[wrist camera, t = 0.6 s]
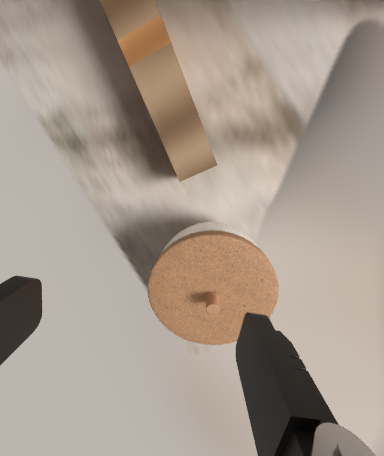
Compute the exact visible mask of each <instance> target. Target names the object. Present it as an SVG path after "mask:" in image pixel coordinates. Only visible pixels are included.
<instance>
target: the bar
mask: <svg viewBox="0 0 384 456" xmlns="http://www.w3.org/2000/svg"><path fill="white" fill-rule="evenodd" d="M100 2H101V5H102V7H103V9H104V12H105V14H106V16H107V18H108V21H109V23H110V25H111V27H112V30H113V32H114V34H115V36H116V39H117V41H118V43H119V46H120V48H121V50H122V52H123V55H124V57H125V59H126V61H127V64H128V66H129V68H130V70H131V73H132V75H133V77H134V79H135V82H136V84H137V86H138V89H139V91H140V93H141V95H142V98H143V100H144V102H145V104H146V107H147V109H148V111H149V113H150V116H151V118H152V120H153V123H154V125H155V127H156V129H157V132H158V134H159V136H160V138H161V141H162V143H163V145H164V147H165V150H166V152H167V154H168V157H169V159H170V161H171V163H172V166H173V168H174V170H175V172H176V175H177V177H178V179H179V181H182V180H185V179H187V178H189V177H191V176H194V175H196V174H198V173H200V172H203V171H205V170H207V169H210V168H212V167H214V166H216V165H217V163H216V161H215V158H214V155H213V153H212V150H211V147H210V145H209V142H208V139H207V137H206V134H205V131H204V129H203V126H202V124H201V121H200V118H199V116H198V113H197V110H196V108H195V105H194V102H193V100H192V97H191V95H190V92H189V89H188V87H187V84H186V81H185V79H184V76H183V73H182V71H181V68H180V66H179V63H178V60H177V58H176V55H175V52H174V50H173V47H172V44H171V42H170V39H169V37H168V34H167V31H166V29H165V26H164V23H163V21H162V18H161V15H160V13H159V10H158V8H157V5H156V2H155V0H100Z"/></svg>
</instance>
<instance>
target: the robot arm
mask: <svg viewBox="0 0 384 456" xmlns="http://www.w3.org/2000/svg"><path fill="white" fill-rule="evenodd" d="M41 286H42V285H41V281H40V280H39V279H35V278H28V277H22V276H14V277H12V278H10V279H8V280H6V281H5V282H3V283H1V284H0V365H1V364H2V363H3V362H4V361H5V360H6V359H7V358H8V357H9V356H10V355H11V354H12V353H13V352H14V351H15V350H16V349H17V348H18V347H19V346H20V345H21V344H22V343H23V342H24V341H25V340H26V339H27V338H28V337H29V336H30V335H31V334H32V333H33V332H34V331H35V329H36V328H37V326H38V325H39V322H40V320H41V317H42V287H41ZM236 362H237V366H238V370H239V375H240V379H241V383H242V388H243V392H244V396H245V401H246V405H247V410H248V414H249V418H250V423H251V427H252V432H253V436H254V440H255V445H256V449H257V453H258V456H376V455H375V454H374V453H373V452H372V451H371V450H370V448H369V447H368V446H367V445H365V443H364V442H363V441H362V440H360V439H359V438H358V437H357V436H356V435H354V434H353V433H352V432H350V431H349V430H347V429H345V428H344V427H341V426H340V425H338V423H337V421H336V420H335V418H334V416H333V414H332V412H331V411H330V409H329V407H328V406H327V404H326V402H325V400H324V399H323V397H322V395H321V393H320V392H319V390H318V388H317V386H316V385H315V383H314V381H313V379H312V378H311V376H310V374H309V372H308V371H306V367H305V365H304V364H303V362H302V360H301V359H299V355H298V353H297V351H296V350H295V348H294V346H293V344H292V343H291V342H290V341H289V340H288V339H287V338H286V337H285V336H284V335H283V334H282V333H281V332H280V331H276V330H275V329H274V327H273V325H272V323H271V321H270V319H269V318H268V316H267V315H262V314H256V313H250V312H247V313H246V314H245V316H244V319H243V323H242V326H241V330H240V333H239V337H238V340H237V344H236Z"/></svg>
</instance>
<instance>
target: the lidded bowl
mask: <svg viewBox="0 0 384 456" xmlns="http://www.w3.org/2000/svg"><path fill="white" fill-rule="evenodd" d="M148 297H149V302H150V304H151V307H152V309H153V311H154V313H155V315H156V316H157V318H158V319H159V320H160V321H161V323H162V324H163V325H164V326H165V327H166V328H168V329H169V330H170V331H171V332H173V333H174V334H176V335H178V336H180V337H182V338H184V339H186V340H189V341H192V342H196V343H200V344H209V345H221V344H227V343H231V342H235V341H237V340H238V337H239V333H240V330H241V326H242V323H243V319H244V316H245V314H246V313H247V312H250V313H256V314H262V315H267V316H268V318H269V317H270V316H271V314H272V313H273V311H274V308H275V306H276V303H277V298H278V280H277V276H276V273H275V271H274V268H273V266H272V265H271V263H270V262H269V260H268V258H267V257H266V255H265V254H264V253H263V252H262V251H261V250H260V248H259V247H258V246H257V245H256V244H255V242H254V241H253V240H252V239H251V238H250V237H248V236H247V235H246V234H245V233H244V232H242V231H240V230H239V229H237V228H235V227H233V226H230V225H228V224H224V223H220V222H202V223H198V224H194V225H192V226H189V227H187V228H185V229H184V230H182V231H180V232H179V233H178V234H176V235H175V236H174V237H173V238H172V239H171V240H170V241H169V243H168V244H167V245H166V246H165V247H164V249H163V251H162V253H161V254H160V255H159V257H158V258H157V260H156V262H155V264H154V265H153V267H152V270H151V273H150V276H149V280H148Z"/></svg>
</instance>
